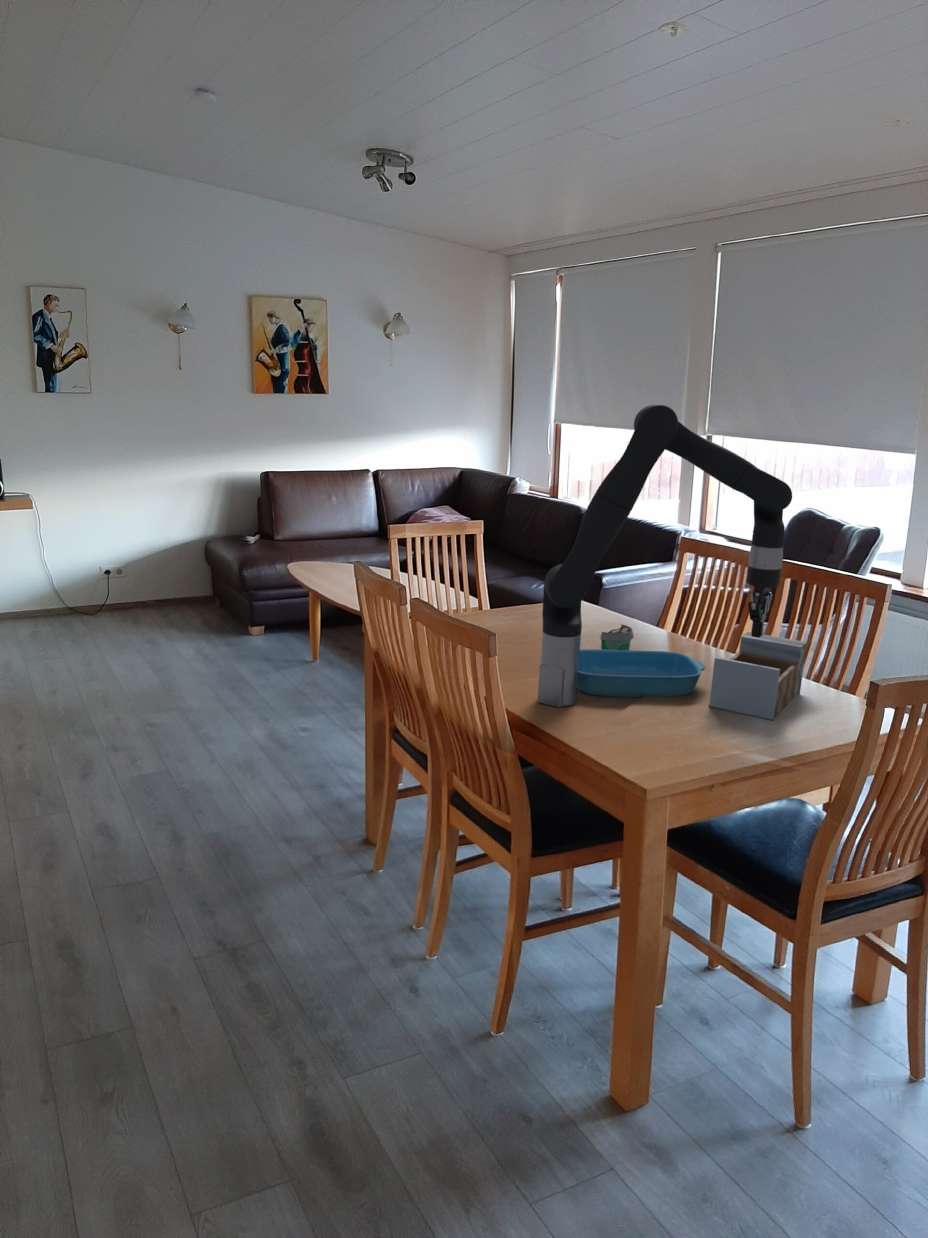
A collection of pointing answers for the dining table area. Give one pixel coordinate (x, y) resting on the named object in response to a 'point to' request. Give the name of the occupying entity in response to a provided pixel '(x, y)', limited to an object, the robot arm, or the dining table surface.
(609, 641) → the food container
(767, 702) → the panel
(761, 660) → the box
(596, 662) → the casserole dish
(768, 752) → the dining table surface
